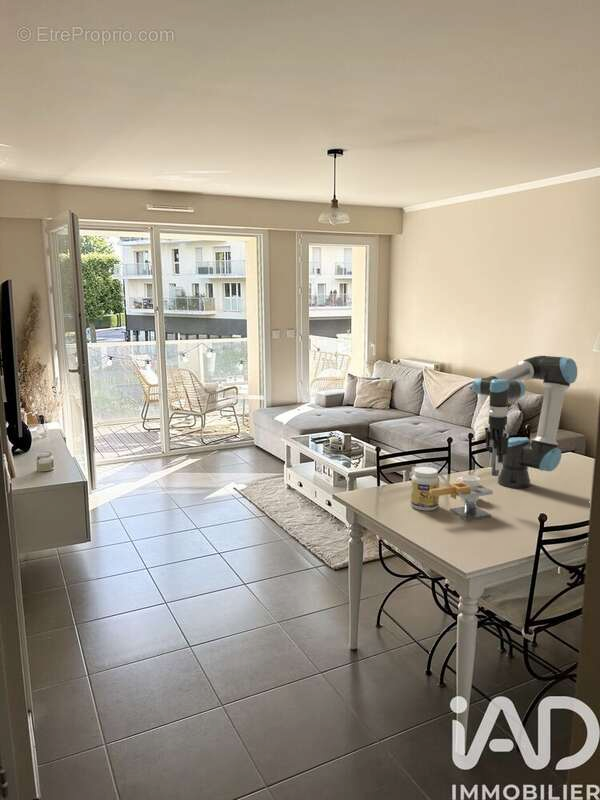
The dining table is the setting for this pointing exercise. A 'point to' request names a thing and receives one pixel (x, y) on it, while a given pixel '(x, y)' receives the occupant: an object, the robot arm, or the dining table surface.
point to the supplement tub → (424, 488)
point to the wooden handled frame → (450, 490)
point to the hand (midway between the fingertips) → (495, 468)
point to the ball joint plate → (472, 502)
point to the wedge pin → (494, 456)
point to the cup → (469, 481)
